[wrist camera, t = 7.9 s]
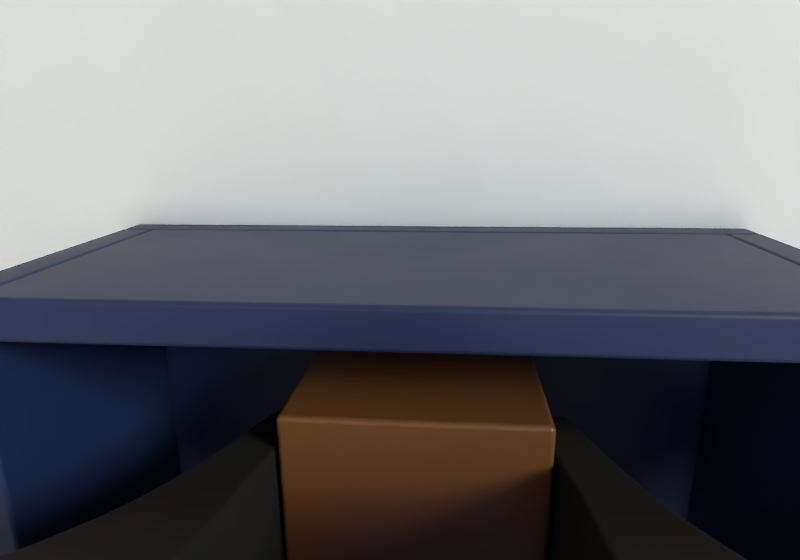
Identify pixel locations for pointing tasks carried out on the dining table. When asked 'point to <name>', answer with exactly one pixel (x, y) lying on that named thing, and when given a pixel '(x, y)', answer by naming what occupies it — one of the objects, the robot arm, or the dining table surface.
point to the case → (405, 333)
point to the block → (416, 458)
